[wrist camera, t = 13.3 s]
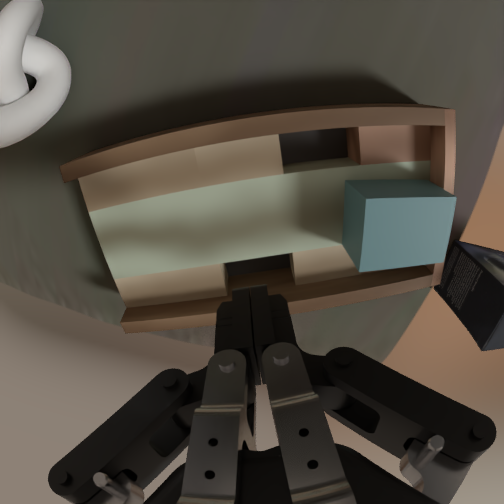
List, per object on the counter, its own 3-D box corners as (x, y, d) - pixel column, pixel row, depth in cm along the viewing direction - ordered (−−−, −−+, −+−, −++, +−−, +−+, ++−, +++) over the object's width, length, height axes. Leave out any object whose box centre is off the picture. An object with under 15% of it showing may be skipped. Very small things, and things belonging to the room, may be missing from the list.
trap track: (90, 151, 21) (59, 166, 17) (419, 103, 20) (454, 109, 16) (139, 298, 28) (125, 333, 24) (415, 255, 27) (440, 284, 23)
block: (344, 180, 20) (365, 198, 17) (427, 179, 20) (456, 197, 17) (341, 244, 23) (359, 272, 19) (419, 237, 23) (443, 262, 19)
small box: (507, 248, 27) (560, 296, 18) (486, 293, 30) (530, 346, 21) (454, 235, 26) (517, 294, 17) (431, 289, 29) (480, 355, 20)
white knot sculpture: (117, 73, 18) (55, 66, 11) (27, 167, 21) (-38, 203, 13) (58, -9, 14) (-4, -32, 6) (-21, 87, 16) (-85, 100, 9)
